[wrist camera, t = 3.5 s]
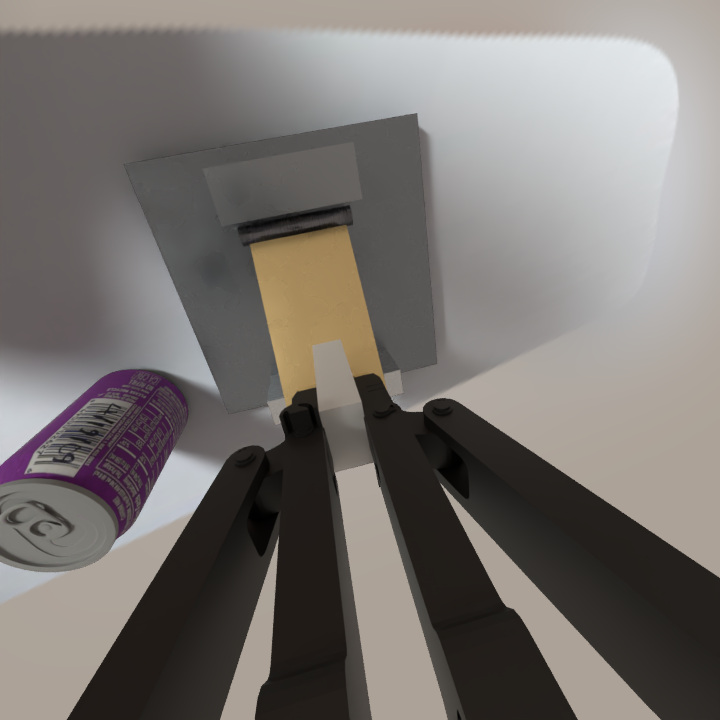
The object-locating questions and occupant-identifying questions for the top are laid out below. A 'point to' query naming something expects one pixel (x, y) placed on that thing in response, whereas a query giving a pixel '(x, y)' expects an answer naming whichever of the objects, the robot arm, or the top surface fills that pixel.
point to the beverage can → (88, 472)
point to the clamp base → (284, 199)
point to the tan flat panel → (311, 293)
